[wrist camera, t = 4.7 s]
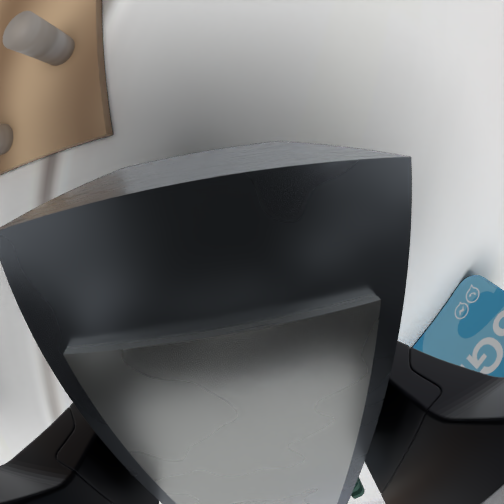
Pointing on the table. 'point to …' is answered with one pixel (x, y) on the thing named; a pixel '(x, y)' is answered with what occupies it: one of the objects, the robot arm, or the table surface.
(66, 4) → the pin tray
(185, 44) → the table surface
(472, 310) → the data package
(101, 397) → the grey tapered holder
